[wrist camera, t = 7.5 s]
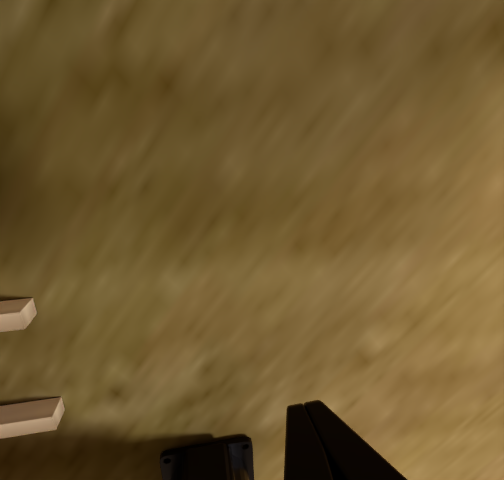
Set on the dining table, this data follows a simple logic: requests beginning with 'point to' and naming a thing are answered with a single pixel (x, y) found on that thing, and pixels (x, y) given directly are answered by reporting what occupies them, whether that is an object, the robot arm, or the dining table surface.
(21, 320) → the guide track
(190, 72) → the dining table surface
